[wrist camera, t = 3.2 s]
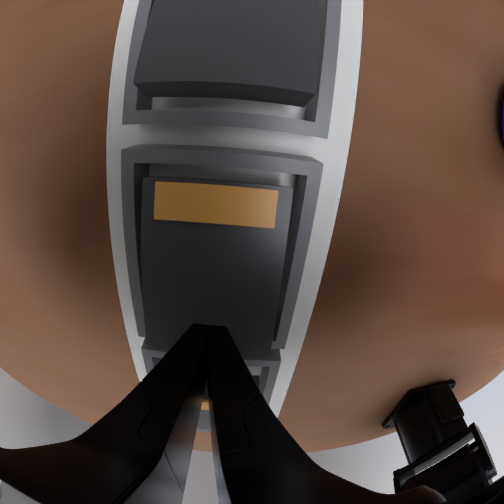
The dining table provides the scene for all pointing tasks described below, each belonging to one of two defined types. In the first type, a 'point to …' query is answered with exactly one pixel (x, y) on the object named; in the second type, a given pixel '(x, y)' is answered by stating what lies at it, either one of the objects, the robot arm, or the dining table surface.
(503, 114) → the bottle
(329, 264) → the dining table surface
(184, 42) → the rocker
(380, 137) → the dining table surface
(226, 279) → the rocker
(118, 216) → the rocker switch panel
